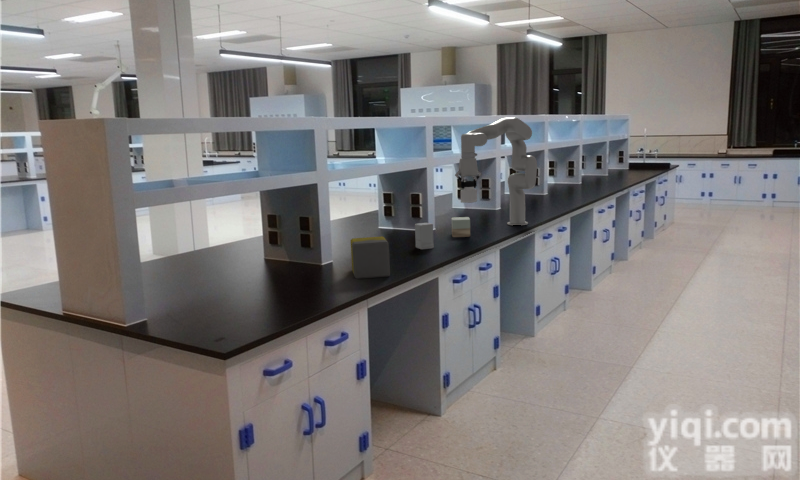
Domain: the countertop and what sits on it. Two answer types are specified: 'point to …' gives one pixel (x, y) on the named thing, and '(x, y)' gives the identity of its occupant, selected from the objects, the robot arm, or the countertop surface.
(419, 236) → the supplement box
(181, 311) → the countertop surface
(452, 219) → the tower top block
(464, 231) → the tower base block
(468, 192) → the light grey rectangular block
